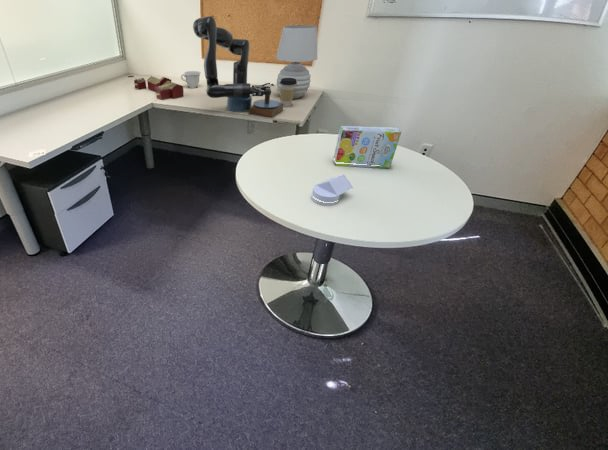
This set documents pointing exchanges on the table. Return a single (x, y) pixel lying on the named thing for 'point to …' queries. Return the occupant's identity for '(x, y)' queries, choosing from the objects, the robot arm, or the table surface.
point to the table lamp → (297, 55)
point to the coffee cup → (287, 91)
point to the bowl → (239, 103)
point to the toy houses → (161, 87)
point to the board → (266, 111)
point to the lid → (267, 102)
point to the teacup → (191, 78)
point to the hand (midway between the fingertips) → (270, 90)
